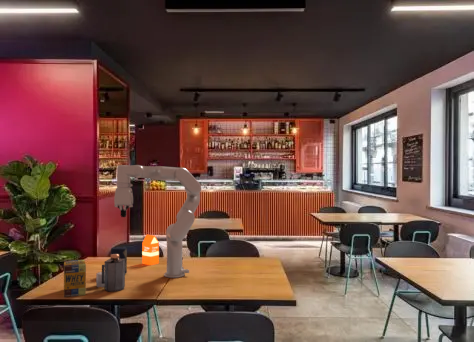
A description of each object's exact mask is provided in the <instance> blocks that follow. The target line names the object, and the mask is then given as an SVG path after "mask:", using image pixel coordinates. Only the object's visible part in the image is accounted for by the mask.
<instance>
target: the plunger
mask: <svg viewBox="0 0 474 342" xmlns="http://www.w3.org/2000/svg"><path fill="white" fill-rule="evenodd" d="M110 259H111V260H114V262H115V261H116V260H118V259H119V254H111V253H110Z"/></svg>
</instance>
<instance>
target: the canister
mask: <svg viewBox="0 0 474 342" xmlns="http://www.w3.org/2000/svg"><path fill="white" fill-rule="evenodd" d="M127 251H128V248H127V247H126V246H124V245H123V246H122V245H116V246H114V247H111V249H110V255H111V254H119V259H125V275H126V274H127V272H128V268H127V267H128V262H127V261H128V254H127V253H128V252H127Z"/></svg>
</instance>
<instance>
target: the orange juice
mask: <svg viewBox="0 0 474 342" xmlns="http://www.w3.org/2000/svg"><path fill="white" fill-rule="evenodd" d="M141 244H142V248H141V250H142V251H141V254H142V255H141V257H142V258H141V264H143V265H147V266H153V265H154V266H155V265H158V264H159V263H160V261H159V260H160V241H158V239H157V236H156V235H153V234H146V235H145V237H144V239H143V240H142V243H141Z"/></svg>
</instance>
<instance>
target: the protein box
mask: <svg viewBox="0 0 474 342" xmlns="http://www.w3.org/2000/svg"><path fill="white" fill-rule="evenodd" d="M63 262H64V263H63V298H70V297H71V298H72V297H77V296H78V297H79V296H86V295H87V293H86V291H87V290H86V289H87V288H86V286H87V284H86V283H87V277H86V276H87V273H86V272H87V265H86V260H85V259H76V260H65V261H63Z"/></svg>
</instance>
